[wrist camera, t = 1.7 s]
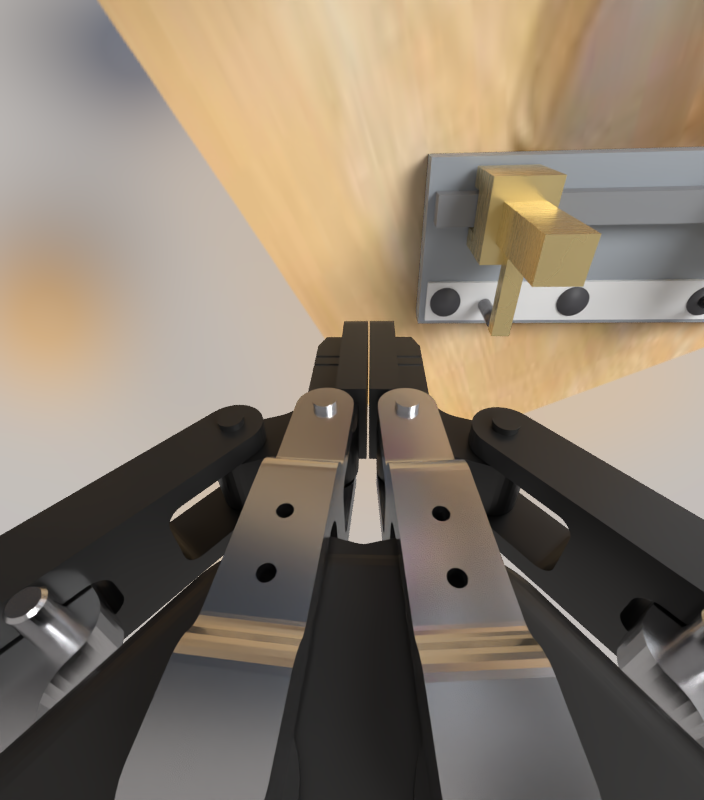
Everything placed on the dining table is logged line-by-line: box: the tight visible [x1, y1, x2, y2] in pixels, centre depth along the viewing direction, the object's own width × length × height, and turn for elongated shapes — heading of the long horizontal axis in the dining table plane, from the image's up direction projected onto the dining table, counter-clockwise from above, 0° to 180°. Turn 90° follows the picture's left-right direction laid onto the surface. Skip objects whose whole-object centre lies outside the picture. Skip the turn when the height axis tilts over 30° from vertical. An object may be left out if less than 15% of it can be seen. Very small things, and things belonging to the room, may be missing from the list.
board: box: [416, 147, 704, 323], centre depth 29 cm, size 12×26×4 cm, turn 91°
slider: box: [466, 164, 601, 336], centre depth 24 cm, size 10×4×12 cm, turn 1°
